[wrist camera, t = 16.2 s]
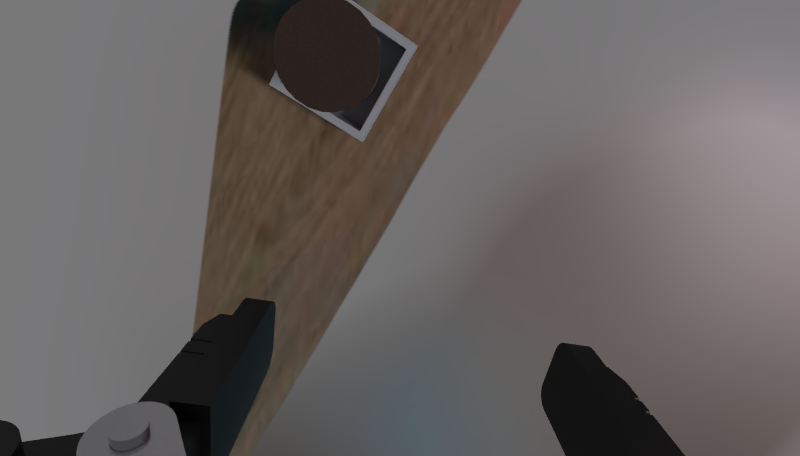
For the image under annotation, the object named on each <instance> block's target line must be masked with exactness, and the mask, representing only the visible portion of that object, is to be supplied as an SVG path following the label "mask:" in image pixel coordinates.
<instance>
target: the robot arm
mask: <svg viewBox="0 0 800 456" xmlns="http://www.w3.org/2000/svg"><path fill="white" fill-rule="evenodd" d="M275 310H276V306H275V302H273V301H266V300H258V299H251V298H245V299H244V300H243V301H242V303H241V304H240V306H239V307H238V308H237V310H236V311H235V312H234V314H233V315H226V314H220V315H218V316H216V317H215V318H213V319H211V320H209V321H208V322H206V323H204V324H203V325H202V326H201V327H200V328H199V330H198V331H197V332H196V333H195V334H194V336H193V337H192V338H191V341H189V342H188V343H187V344H186V345H185V346H184V348H183V349H182V350H181V352H180V353H179V354H178V355H177V356H176V357H175V358H174V360H173V361H172V362H171V363H170V364H169V366H168V367H167V368H166V369H165V370H164V372H163V373H162V374H161V375H160V376H159V378H158V379H157V380H156V381H155V382H154V384H153V385H152V386H151V387H150V388H149V389H148V391H147V392H146V393H145V394H144V396H143V397H142V398H141V399H140V400H139V401H138V403H133V404H129V405H126V406H123V407H120V408H118V409H115V410H113V411H111V412H109V413H108V414H106V415H104V416H103V417H101V418H100V419H99V420H97V421H96V422H95V423H94V424H92V425H91V426H90V427H89V428H88V430H87V431H86V432H84V433H78V434H73V435H66V436H60V437H53V438H46V439H40V440H33V441H26V442H22V440H21V436H20V432H19V429H18V428H17V427H16V426H15V425H14V424H12V423H10V422H7V421H2V420H0V456H229V454H230V452H231V450H232V448H233V445H234V443H235V441H236V439H237V437H238V435H239V432H240V430H241V428H242V426H243V424H244V422H245V419H246V417H247V415H248V413H249V411H250V409H251V406H252V404H253V402H254V400H255V398H256V396H257V393H258V391H259V389H260V387H261V385H262V382H263V380H264V378H265V376H266V374H267V371H268V369H269V365H270V362H271V358H272V352H273V341H274V325H275ZM541 399H542V405H543V408H544V411H545V412H546V415H547V417H548V419H549V421H550V423H551V425H552V427H553V430H554V431H555V434H556V436H557V438H558V440H559V442H560V444H561V447H562V449H563V451H564V453H565V455H566V456H685V455H684V454H683V453H682V451H681V450H680V449H679V448H678V446H677V445H676V444H675V443H674V441H673V440H672V439H671V438H670V436H669V435H668V434H667V433H666V431H665V430H664V429H663V428H662V426H661V425H660V424H659V423H658V421H657V420H656V419H655V418H654V416H653V415H650V411H649V410H648V409H647V408H646V406H645V405H644V404H643V403H642V402H641V401H639V398H638V396H637V395H636V394H635V393H634V392H633V390H632V389H631V388H630V386H629V385H628V384H627V383H626V382H625V381H624V380H623V379H622V378H620V377H619V376H618V375H617V374H616V373H614V372H613V371H612V370H611V369H609V368H608V367H606V366H605V365H604V363H603V362H602V361H601V359H600V358H599V357H598V355H597V354H596V353H595V351H594V350H593V349H592V348H590V347H588V346H582V345H574V344H567V343H561V344H559V345H558V347H557V348H556V351H555V353H554V356H553V359H552V361H551V364H550V366H549V369H548V372H547V374H546V377H545V380H544V382H543V385H542V390H541Z"/></svg>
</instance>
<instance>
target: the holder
mask: <svg viewBox="0 0 800 456" xmlns="http://www.w3.org/2000/svg"><path fill="white" fill-rule="evenodd" d="M346 1H348V2H349V3H351V4H352V5H354V6H355V7H356V8H358V9H359V10H360V11H361V12H362V13H363V14H364V16H365V17H366V18H367V19H368V21H369V22H370V23H371V25H372V27H373V30H374V32H375V34H376V36H377V39H378V44H379V49H380V73H379V78H378V82H377V84H376V86H375V88H374V90H373V91H372V92H371V93H370V94H369V95H368V96H367V97H366V98H365V99H364V100H362V101H361V102H360V103H359V104H357V105H355V106H353V107H352V108H350V109H348V110H344V111H339V112H320V111H317V110H314V109H311V108H308V107H307V106H305V105H304V104H302V103H300V102H299V101H297V100H296V99H295V98H294V97H293V96H292V95H291V94H290V93H289V92H288V91H287V90H286V88H285V87H284V85H283V83H282V82H281V80H280V78H279V77H278V74H277V71H275V73H274V75H273V77H272V79H271V82H270V84H269V85H271V86H272V87H274V88H275V89H277V90H279V91H280V92H282V93H284V94H285V95H287V96H288V97H290V98H292V99H293V100H295V101H297V102H298V103H300V104H301V105H303V106H305V107H306V108H308V109H310V110H311V111H313V112H314V113H316V114H318V115H319V116H321V117H323V118H324V119H326V120H327V121H329V122H331V123H332V124H334V125H336V126H337V127H339V128H340V129H342V130H344V131H345V132H347V133H349V134H350V135H352V136H353V137H355V138H357V139H358V140H360V141H362V142H363V141H364V140H365V138H366V136H367V135H368V133H369V131H370V129H371V128H372V126H373V124H374V122H375V121H376V119H377V117H378V115H379V114H380V112H381V110H382V109H383V107H384V105H385V103H386V102H387V100H388V98H389V96H390V95H391V93H392V91H393V89H394V88H395V86H396V84H397V82H398V81H399V79H400V77H401V75H402V74H403V72H404V70H405V68H406V67H407V65H408V63H409V61H410V60H411V58H412V56H413V54H414V53H415V51H416V49H417V47H418V46H417V45H415V44H414V43H413V42H411V41H410V40H408V39H407V38H405V37H404V36H403V35H401V34H400V33H398V32H397V31H395V30H394V29H392V28H391V27H390V26H388V25H387V24H385V23H384V22H382V21H381V20H379V19H378V18H377V17H375V16H374V15H372V14H371V13H369V12H368V11H367V10H365V9H364V8H362V7H361V6H359V5H358V4H356V3H355V2H354V1H352V0H346Z"/></svg>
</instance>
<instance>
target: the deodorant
mask: <svg viewBox="0 0 800 456" xmlns="http://www.w3.org/2000/svg"><path fill="white" fill-rule="evenodd" d="M273 60H274V64H275V67H276V71H277V74H278V77H279V78H280V80H281V82H282V83H283V85H284V87H285V88H286V90H287V91H288V92H289V93H290V94H291V95H292V96H293V97H294V98H295V99H296V100H297V101H299V102H300V103H302V104H304V105H305V106H307V107H308V108H311V109H314V110H317V111H320V112H339V111H344V110H348V109H350V108H352V107H353V106H355V105H357V104H359V103H360V102H361V101H362V100H364V99H365V98H366V97H367V96H368V95H369V94H370V93H371V92H372V91H373V90H374V88H375V86H376V84H377V82H378V78H379V73H380V49H379V44H378V39H377V36H376V34H375V32H374V30H373V27H372V25H371V23H370V22H369V21H368V19H367V18H366V17H365V16H364V14H363V13H362V12H361V11H360V10H359V9H358V8H356V7H355V6H354V5H352V4H351V3H349V2H348V1H346V0H300V1H299V2H297V3H296V4H294V5H292V6H291V7H290V8H289V9H288V11H287V12H286V13H285V14H284V15H283V16H282V18H281V20H280V22H279V24H278V26H277V28H276V30H275V35H274V41H273Z"/></svg>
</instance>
